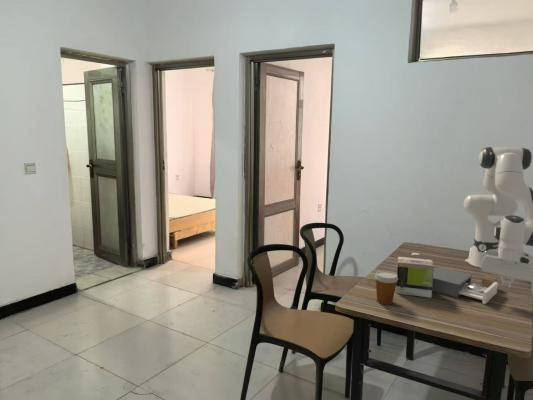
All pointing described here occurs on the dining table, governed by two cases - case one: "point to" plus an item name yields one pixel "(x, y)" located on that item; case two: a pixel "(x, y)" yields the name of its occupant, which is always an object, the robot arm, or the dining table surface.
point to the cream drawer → (483, 296)
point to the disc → (476, 288)
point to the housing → (449, 281)
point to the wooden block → (488, 281)
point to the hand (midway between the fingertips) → (506, 286)
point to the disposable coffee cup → (385, 286)
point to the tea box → (414, 277)
